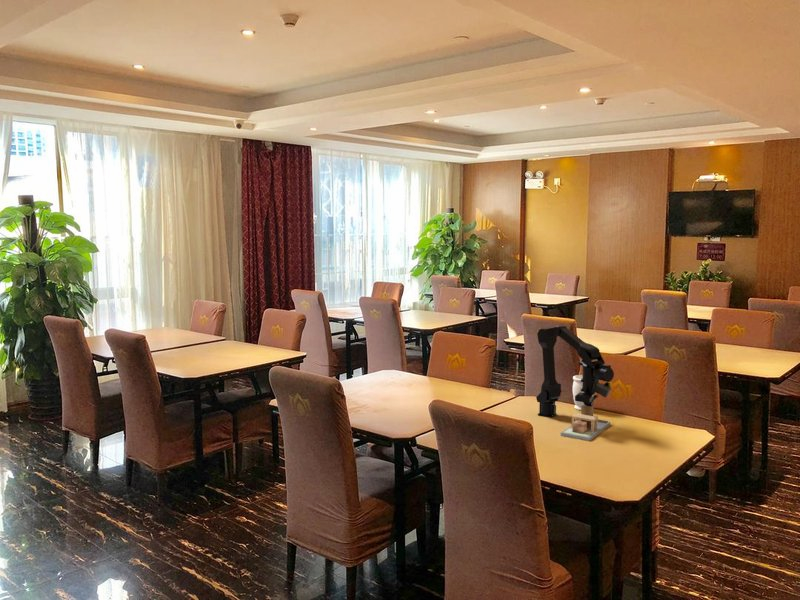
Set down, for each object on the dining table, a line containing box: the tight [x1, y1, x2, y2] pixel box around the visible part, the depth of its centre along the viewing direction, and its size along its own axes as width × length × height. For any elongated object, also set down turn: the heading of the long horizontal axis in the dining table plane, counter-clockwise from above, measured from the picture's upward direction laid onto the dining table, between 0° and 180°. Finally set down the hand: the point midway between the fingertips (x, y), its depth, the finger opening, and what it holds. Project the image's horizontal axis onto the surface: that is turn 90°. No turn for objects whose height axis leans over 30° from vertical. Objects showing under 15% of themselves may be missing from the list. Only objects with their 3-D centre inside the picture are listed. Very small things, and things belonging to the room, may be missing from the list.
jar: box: [572, 374, 584, 411], centre depth 302 cm, size 11×10×15 cm
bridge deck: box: [560, 412, 611, 442], centre depth 272 cm, size 12×26×6 cm, turn 144°
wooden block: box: [572, 405, 595, 434], centre depth 268 cm, size 5×11×9 cm, turn 144°
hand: (589, 412), depth 274 cm, fingers closed
